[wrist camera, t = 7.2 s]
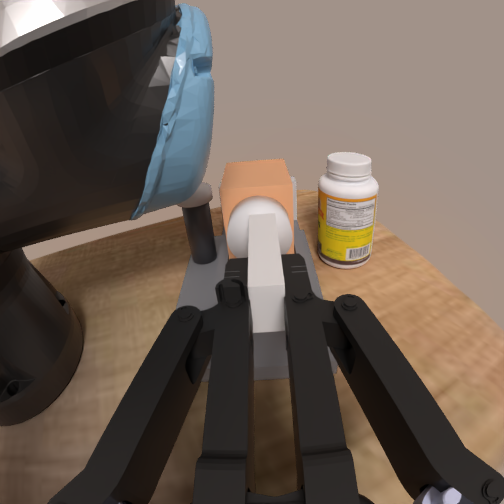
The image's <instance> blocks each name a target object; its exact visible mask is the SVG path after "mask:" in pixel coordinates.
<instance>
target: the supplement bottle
mask: <svg viewBox="0 0 504 504" xmlns="http://www.w3.org/2000/svg"><path fill="white" fill-rule="evenodd" d="M326 168H327V173H326V174H324V175H323V176H322V177H321V178H320V180H319V185H318V254H319V256H320V258H321V259H322V260H323V261H324V262H325V263H327V264H329V265H331V266H333V267H336V268H341V269H352V268H357V267H360V266H362V265H364V264H365V263H366V262H367V261H368V260H369V258H370V256H371V251H372V244H373V236H374V228H375V220H376V210H377V201H378V188H379V186H378V183H377V181H376V180H375V179H374V178H373V177H372V176H371V159H370V158H369V157H368V156H365V155H362V154H357V153H352V152H339V153H333V154H330V155H328V157H327V167H326Z"/></svg>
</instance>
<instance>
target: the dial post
mask: <svg viewBox="0 0 504 504" xmlns="http://www.w3.org/2000/svg"><path fill="white" fill-rule="evenodd" d="M211 200H212V191H211V185H210V184H208V183H202V182H201V184H200V186H199V187H198V189H197V190H196V191H195V193H194V194H193V195H192V196H191V197H190V198H188V199H187V200H185V201H183V202H181V203H179V204H177V205H178V206H180V207H182V211H183V216H184V221H185V226H186V231H187V235H188V240H189V245H190V249H191V254H192V259H193V261H194V262H195V263H196V264H201V265H203V264H209V263H211V262H213V261H215V260H216V258H217V251H216V245H215V239H214V232H213V226H212V220H211V214H210V207H209V201H211Z"/></svg>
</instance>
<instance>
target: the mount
mask: <svg viewBox="0 0 504 504" xmlns="http://www.w3.org/2000/svg"><path fill="white" fill-rule="evenodd" d="M290 178H291V181H292V184H293V215H294V254H296V253H299V254H300V255H301V256H302V257H303V258H304V259H305V263H306V267H307V272H308V275H309V279H310V284H311V288H312V291H313V292H314V293H315V295H316V296H317V297H318V298H321V299H323V296H322V292H321V288H320V285H319V281H318V277H317V274H316V270H315V267H314V263H313V260H312V256H311V253H310V249H309V246H308V242H307V239H306V236H305V232H304V230H300V229H299V225H298V222H297V196H296V180H295V177H294V176H293V177H290ZM220 186H221V182H220V184H219V193H220ZM220 201H221V197H220ZM221 208H222V204H221ZM222 215H223V211H222ZM223 223H224V219H223ZM214 239H215V245H216V251H217V258H216V260H215V261H213V262H211V263H209V264H203V265H201V264H196V263H195V262H194V261H193V259H192V254H191V256H190V260H189V263H188V267H187V270H186V274H185V277H184V281H183V284H182V288H181V292H180V295H179V299H178V303H177V307H176V309H178V308H179V307H182V306H186V305H192V306H195V307H197V308H198V309H199V310H200V311H202V310H206V309H209V308H212V307H214V306H215V305H217V304H218V301H217V296H216V291H215V287H216V284H217V283H218V282H220V281H221V280H223V279H224V273H225V265H226V263H227V262H228V261H229V254H228V247H227V240H226V233H225V226H224V227H223V233H222V236H214ZM253 340H254V380H270V379H285V378H289V369H288V358H287V350H286V331H276V332H260V333H253ZM327 347H328V346H327ZM328 352H329V357H330V361H331V366H332V371H333V374H334V373H336V371H337V366H338V364H337V362H336V360H335V358H334V356H333V355H332V353H331V351H330V349H329V347H328ZM211 357H212V356H211ZM210 366H211V359H210V361H209V364H208V366H207V369H206V371H205V373H204V376H203V378H202V380H201V381H209V375H210Z"/></svg>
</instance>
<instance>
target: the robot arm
mask: <svg viewBox="0 0 504 504" xmlns="http://www.w3.org/2000/svg"><path fill="white" fill-rule="evenodd" d="M212 54H213V53H212V39H211V32H210V28H209V24H208V21H207V18H206V16H205V14H204V13H203V12H202V11H201V10H200V9H199V8H197V7H194V6H189V5H187V4H185V3H183V4H178V5H176V6H175V0H0V426H8V425H14V424H18V423H21V422H23V421H26V420H28V419H30V418H32V417H34V416H35V415H37V414H38V413H40V412H41V411H42V410H44V409H45V408H46V407H47V406H49V405H50V404H51V403H52V402H53V401H54V400H55V399H56V398H57V397H58V395H59V394H60V393H61V392H62V390H63V389H64V388H65V386H66V385H67V384H68V382H69V380H70V379H71V377H72V375H73V373H74V371H75V369H76V367H77V364H78V362H79V359H80V355H81V351H82V345H83V333H82V328H81V325H80V322H79V320H78V319H77V317H76V315H75V313H74V311H73V309H72V307H71V306H70V304H69V302H68V301H67V300H66V298H65V297H64V296H63V295H62V294H61V293H59V292H58V291H57V290H56V289H55V288H54V287H53V286H52V285H51V284H50V282H49V281H48V280H47V279H46V278H45V277H44V276H43V275H42V274H41V273H40V272H39V271H38V270H37V269H36V268H35V267H34V266H33V265H32V264H31V263H30V261H29V260H28V259H27V258H26V256H25V254H24V252H23V250H22V247H25V246H28V245H32V244H36V243H39V242H43V241H46V240H50V239H53V238H58V237H61V236H65V235H69V234H72V233H77V232H81V231H85V230H88V229H93V228H97V227H101V226H105V225H109V224H113V223H117V222H122V221H126V220H136V219H138V218H139V217H141V216H142V215H143V214H146V213H149V212H152V211H156V210H159V209H162V208H166V207H169V206H172V205H176V204H179V203H181V202H183V201H185V200H187V199H188V198H190V197H191V196H192V195H193V194H194V193H195V191H196V190H197V189H198V187H199V186H200V184H201V182H202V180H203V177H204V175H205V172H206V168H207V163H208V159H209V154H210V147H211V139H212V127H213V114H214V81H213V79H212V77H211V74H210V71H211V67H212ZM215 291H216V296H217V301H218V304H217V305H215V306H214V307H212V308H209V309H206V310H202V311H200V310H199V309H198V308H197V307H195V306H192V305H186V306H182V307H179V308H178V309H176V310H175V311H174V312H173V313H172V314H171V316H170V318H169V319H168V321H167V323H166V324H165V326H164V328H163V329H162V331H161V333H160V334H159V336H158V338H157V339H156V341H155V343H154V345H153V346H152V348H151V350H150V351H149V353H148V355H147V356H146V358H145V360H144V362H143V363H142V365H141V367H140V369H139V370H138V372H137V374H136V376H135V377H134V379H133V381H132V383H131V384H130V386H129V388H128V390H127V391H126V393H125V395H124V397H123V398H122V400H121V402H120V404H119V406H118V407H117V409H116V411H115V413H114V415H113V416H112V418H111V420H110V422H109V424H108V426H107V427H106V429H105V431H104V433H103V435H102V437H101V439H100V440H99V442H98V444H97V446H96V448H95V450H94V452H93V454H92V455H91V457H90V459H89V461H88V463H87V465H86V467H85V469H84V470H83V471H82V472H80V473H79V474H78V475H77V476H76V477H75V478H74V479H73V480H72V481H70V482H69V483H68V484H67V485H66V486H65V487H64V488H63V489H61V490H60V491H59V492H58V493H57V494H56V495H55V496H53V497H52V498H51V499H50V501H49V502H48V503H47V504H148V503H149V501H150V499H151V497H152V495H153V493H154V491H155V489H156V486H157V484H158V481H159V479H160V477H161V474H162V472H163V470H164V467H165V465H166V463H167V460H168V458H169V456H170V453H171V451H172V449H173V446H174V444H175V442H176V439H177V437H178V435H179V432H180V430H181V428H182V425H183V423H184V420H185V418H186V416H187V413H188V411H189V409H190V406H191V404H192V402H193V399H194V397H195V395H196V392H197V390H198V387H199V385H200V383H201V380H202V378H203V376H204V373H205V371H206V369H207V366H208V364H209V361H210V359H211V366H210V375H209V385H208V394H207V404H206V414H205V424H204V435H203V446H202V454H201V456H200V457H199V458H198V460H197V463H196V469H195V480H194V492H193V502H192V503H190V504H374V503H373V502H372V501H371V500H369V499H368V498H366V497H365V496H363V495H361V494H359V493H358V488H357V482H356V475H355V469H354V462H353V457H352V454H351V451H350V450H349V449H348V448H347V446H346V442H345V436H344V430H343V424H342V418H341V413H340V407H339V402H338V397H337V391H336V386H335V381H334V376H333V371H332V366H331V361H330V357H329V352H328V347H329V349H330V351H331V353H332V355H333V356H334V358H335V360H336V362H337V364H338V365H339V367H340V369H341V371H342V373H343V375H344V377H345V378H346V380H347V382H348V384H349V386H350V388H351V389H352V391H353V393H354V395H355V397H356V399H357V401H358V402H359V404H360V406H361V408H362V410H363V412H364V414H365V415H366V417H367V419H368V421H369V423H370V425H371V427H372V429H373V431H374V432H375V434H376V436H377V438H378V440H379V442H380V444H381V446H382V448H383V450H384V451H385V453H386V455H387V457H388V459H389V461H390V463H391V465H392V467H393V469H394V471H395V473H396V475H397V477H398V479H399V480H400V482H401V484H402V485H403V487H404V489H405V490H406V491H407V492H408V494H409V495H410V496H411V497H412V498H413V499H414V500H415V501H414V502H413V504H500V503H501V501H502V500H503V498H504V478H503V476H502V475H501V474H500V473H498V472H497V471H496V470H494V469H493V468H492V467H490V466H489V465H488V464H486V463H485V462H484V461H482V460H481V459H480V458H478V457H477V456H476V455H474V454H473V453H472V452H470V451H469V450H468V449H467V448H465V446H464V445H463V443H462V442H461V440H460V438H459V437H458V435H457V434H456V432H455V430H454V429H453V427H452V426H451V424H450V423H449V421H448V419H447V418H446V416H445V415H444V413H443V412H442V410H441V409H440V407H439V406H438V404H437V403H436V401H435V400H434V398H433V397H432V395H431V394H430V392H429V391H428V389H427V388H426V386H425V385H424V383H423V382H422V381H421V379H420V378H419V376H418V375H417V373H416V372H415V370H414V369H413V368H412V366H411V365H410V363H409V362H408V361H407V359H406V358H405V356H404V355H403V353H402V352H401V351H400V349H399V348H398V347H397V345H396V344H395V342H394V341H393V340H392V338H391V337H390V336H389V334H388V333H387V331H386V330H385V329H384V327H383V326H382V325H381V323H380V322H379V321H378V319H377V318H376V317H375V315H374V314H373V313H372V311H371V310H370V309H369V307H368V306H367V305H366V303H365V302H364V301H363V300H362V299H361V298H360V297H358V296H356V295H351V294H345V295H341V296H339V297H338V298H337V299H336V300H335V302H334V301H327V300H323V299H321V298H318V297H317V296H316V295H315V293H314V292H313V291H312V288H311V284H310V279H309V275H308V272H307V267H306V263H305V259H304V258H303V257H302V256H301V255H300V254H299V253H296V254H281V253H280V246H279V238H278V231H277V224H276V217H275V213H268V214H253V215H249V245H248V257H247V258H232V259H230V260H229V261H228V262H227V263H226V265H225V273H224V279H223V280H221V281H220V282H218V283H217V284H216V287H215ZM276 331H286V350H287V358H288V369H289V380H290V392H291V404H292V416H293V428H294V441H295V455H296V469H297V491H295V492H292V493H288V494H285V495H282V496H278V497H272V496H266V495H261V494H256V488H255V473H254V340H253V333H260V332H276ZM327 346H328V347H327ZM211 356H212V357H211Z"/></svg>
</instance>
